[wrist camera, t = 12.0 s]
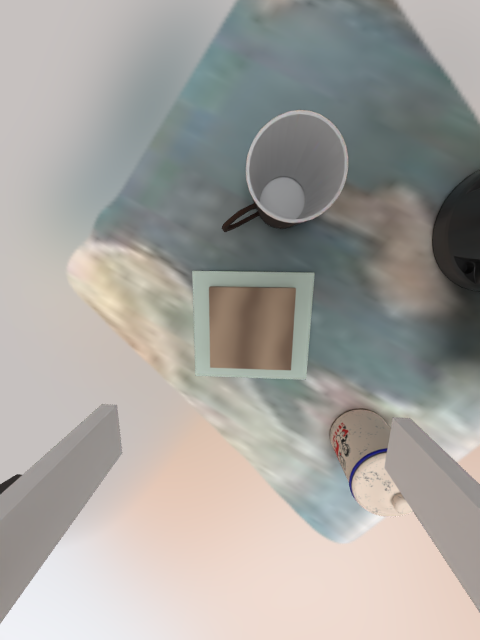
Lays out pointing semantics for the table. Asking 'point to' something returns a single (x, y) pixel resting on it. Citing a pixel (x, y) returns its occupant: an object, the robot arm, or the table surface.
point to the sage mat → (253, 279)
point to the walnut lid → (251, 327)
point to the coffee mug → (294, 170)
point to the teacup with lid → (367, 462)
